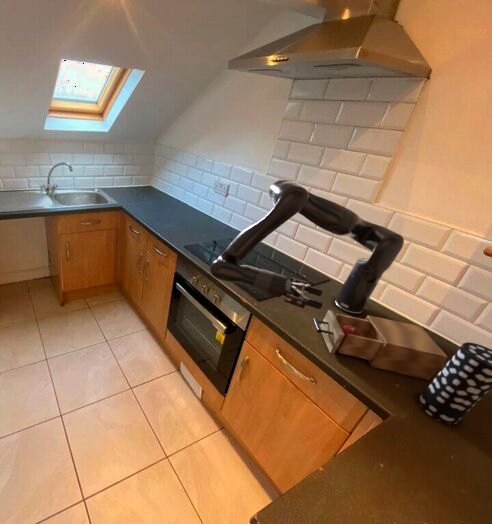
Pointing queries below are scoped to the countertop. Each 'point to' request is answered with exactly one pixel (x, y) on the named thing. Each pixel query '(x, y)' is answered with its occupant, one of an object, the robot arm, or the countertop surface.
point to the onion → (349, 331)
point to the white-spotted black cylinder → (459, 384)
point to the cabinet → (406, 349)
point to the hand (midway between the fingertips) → (321, 299)
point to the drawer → (349, 336)
